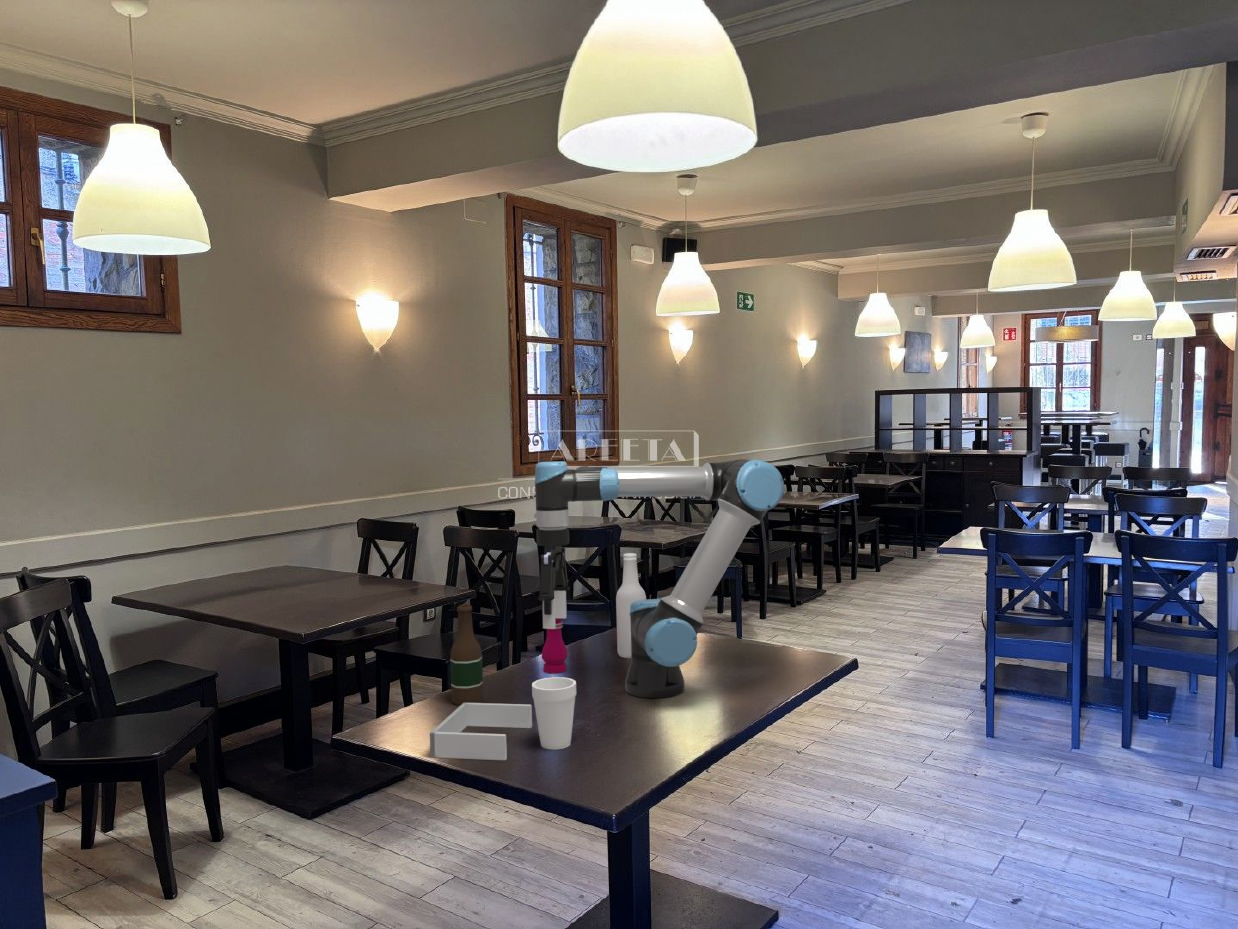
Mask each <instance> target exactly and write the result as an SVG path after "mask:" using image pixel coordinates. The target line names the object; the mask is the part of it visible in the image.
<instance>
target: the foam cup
mask: <svg viewBox="0 0 1238 929" xmlns="http://www.w3.org/2000/svg"><path fill="white" fill-rule="evenodd" d="M531 696H532V699H533V702H534V703H533V704H534V711H535V717H536V722H537V723H536V724H537V728H538V736H539V741H540V742H539V743H540V747H542V748H543V749H547V750H555V751H556V750H563V749H565V748H568V747H569V746H571V742H572V735H573V734H572V733H573V722H574V715H575V714H574V712H575V702H576V696H577V681H576V680H575V679H573V678H568V677H564V676H562V677H559V676H556V677H555V676H553V677H552V676H551V677H545V678H544V677H543V678H541V679H537V680H535V681H533V682H532V683H531Z"/></svg>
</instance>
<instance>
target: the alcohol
mask: <svg viewBox="0 0 1238 929" xmlns="http://www.w3.org/2000/svg"><path fill="white" fill-rule="evenodd" d="M637 556H638V554H637V553H634V552H626V553H623V556H622V557H623V558H622V559H623V569H622V571H623V572H622V584H621V586H619V589H618V590H617V593H616V595H615V596H616V597H615V602H616V603H615V604H616V606H615V608H616V638H617V639H616V644H617V650H616V651H617V655H619V657H620V658H624V659H631V624H630V614H629V613H630V606H631V603H632V602H634V601H638V600H647V596H646V592H645V590H644V589H643V587H642V586H641V584H640V583H639V573H638V572H639V571H638V563H637V562H638V560H637Z"/></svg>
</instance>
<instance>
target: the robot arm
mask: <svg viewBox="0 0 1238 929" xmlns="http://www.w3.org/2000/svg"><path fill="white" fill-rule="evenodd" d="M534 468H535V470H534V477H535V478H534V495H535V513H534V514H533V517H534V519H536V522H535V523H536V527H537V528H538V529H536V545H537V546H540V547H544V553H543V554H540V557H539V558H540V580H539V582H540V583H539V595H538V598H537V600H538V601H542V604H541V606H542V629H544V630H545V629H555V628H556V626H555V618H563V619H567V591H569V590H570V585H569V581H568V572H567V571H568V570H567V562H566V561H567V560H566V547H564V546H567V545H569V544H570V530H569V528H568V526H570V520H569V518H570V516H569V515H570V514H569V502H572V503H573V502H595V501H597V502H598V501H600V502H601V501H603V502H606V501H614V500H616V499H617V498H618V497H620V498H625V497H626V498H627V497H629V498H631V497H637V498H638V497H639V498H641V497H643V498H644V497H649V498H651V497H653V498H654V497H702V498H703V499H704V500H705V501H717V503H718V507H719V509H718V511H717V512H716V514H715V516H714V517H713V520H712V521H711V523H710V525H709V527H708V528H707V530H706V532H705V533H704V535H703V537H702V539H701V540H700V543H699V544H698V545H697V548H696V550H695V551H694V552H693V554H692V557H691V558H690V560H689V561H688V563H687V565H686V567H685V568H684V571H683V572H682V574H681V575H680V577H679V579H678V581H677V582H676V584H675V586H674V588H673V590H672V592H671V593H670V594H669V595H667V596H663V597H661V598H652V599H651V598H650V599H646V600H638V601H634V602H632V603H631V606H630V613H629V614H630V624H631V658H630V659H631V661H630V664H629V667H628V670H627V674H626V677H625V681H624V683H625V686H624V687H625V689H624V690H625V692H626V693H628V694H629V695H631V696H634V697H639V698H647V699H649V698H650V699H659V698H668V697H674V696H677V695H680V694H681V693H683V692H684V691H685V689H686V688H685V678H684V675H683V673H682V670H681V667H680V666H681V665H683V664H685V663H687V662H688V661H690V660H691V658H692V657H693V656H694V653H695V652H696V650H697V647H698V646H697V645H698V634H699V632H700V630H701V628H702V626H703V625H704V619H703V618H704V617H703V612H704V611H705V609H706V606H707V605H708V603H709V601H710V599H711V597H712V596H713V594H714V592H715V590H716V588H717V586H718V585H719V583H720V581H721V580H722V578H723V576H724V574H725V572H726V571H727V568H728V567H729V566H730V564H731V562H732V560H733V559H734V557H735V555H736V553H737V551H738V550H739V548H740V546H741V544H742V543H743V540H744V539H745V537H746V535H747V533H748V532H749V530H750V529H751V527H753V526H756V525H759V524H761V521H762V520H763V518H764V517H765V515H766V513H767V512H768V511H770V510H772V509H773V508H774V507H776V506H777V505H778V504H779V503H780V501H781V499H782V498H783V496H784V491H785V484H784V483H785V482H784V480H783V479H784V478H783V476H782V474H781V472H780V471H779V469H778V468H776V466H774V465H773V464H771V463H769V462H766V461H764V460H762V459H761V460H760V459H745V458H744V459H743V458H742V459H741V458H740V459H733V460H727V461H719V462H706V463H704V464H703V465H702V466H588V465H583V466H582V465H581V466H579V467H576V468H575V469H570V468H569V467H568V463H567V462H566V461H559V460H558V461H540V462H537V463H536V465H535V466H534ZM553 599H554V600H553Z"/></svg>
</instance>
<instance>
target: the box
mask: <svg viewBox="0 0 1238 929" xmlns="http://www.w3.org/2000/svg"><path fill="white" fill-rule="evenodd" d="M532 708H533V706H532V704H522V703H521V704H520V703H517V704H515V703H489V702H488V703H486V702H485V703H484V702H480V703H463V704H462V705H461V706H458V707H457V708H456V709H455V710H454V711H453V712H452V713H450V714H449V715H448V716H447V717H446V718H445V719H444V720H443V721H441V723H439V724H438V725H437V726H436V727H435V728H434V729H433V730H431V731H430V733H429V749H430V753H429V754H430V758H439V759H460V760H461V759H462V760H463V759H464V760H465V759H466V760H488V761H506V760H507V759H508V753H507V752H508V751H507V734H504V733H502V734H501V733H483V732H481V733H479V732H463V730H465V729H466V728H467V727H491V728H516V729H522V728H523V729H531V728H532V727H533V717H532V716H533V712H532V711H533V710H532Z"/></svg>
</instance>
